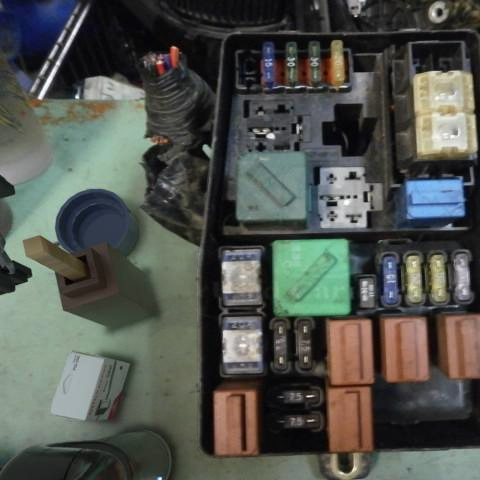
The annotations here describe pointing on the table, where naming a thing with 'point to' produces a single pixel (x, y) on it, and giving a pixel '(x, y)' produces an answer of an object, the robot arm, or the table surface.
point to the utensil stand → (106, 289)
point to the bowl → (96, 222)
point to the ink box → (89, 387)
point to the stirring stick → (56, 258)
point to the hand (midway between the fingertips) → (13, 234)
